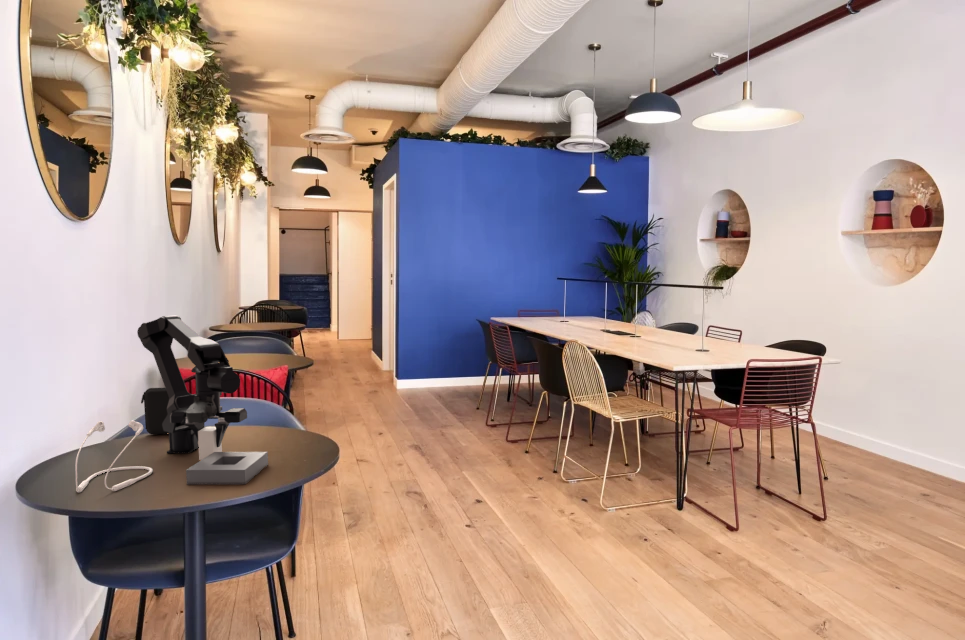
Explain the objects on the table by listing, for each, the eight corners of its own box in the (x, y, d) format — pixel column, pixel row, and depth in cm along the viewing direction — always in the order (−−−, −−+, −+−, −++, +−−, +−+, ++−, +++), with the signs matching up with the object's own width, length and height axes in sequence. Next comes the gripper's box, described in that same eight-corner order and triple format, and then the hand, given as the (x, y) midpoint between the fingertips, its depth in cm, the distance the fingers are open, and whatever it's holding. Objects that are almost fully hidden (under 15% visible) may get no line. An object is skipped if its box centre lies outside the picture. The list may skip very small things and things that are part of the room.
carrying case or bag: (140, 436, 195) (138, 389, 194) (145, 433, 198) (142, 387, 197) (177, 435, 196) (174, 388, 195) (180, 432, 199) (178, 386, 198)
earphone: (54, 481, 141) (86, 416, 154) (85, 518, 153) (112, 455, 166) (118, 480, 142) (144, 415, 155) (143, 517, 154) (165, 453, 166)
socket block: (186, 484, 150) (186, 469, 150) (214, 465, 165) (214, 451, 165) (245, 484, 150) (244, 469, 150) (268, 465, 165) (267, 451, 165)
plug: (199, 460, 169) (197, 431, 169) (210, 453, 176) (208, 425, 175) (214, 460, 169) (212, 431, 169) (224, 453, 176) (223, 425, 175)
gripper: (157, 395, 163) (160, 455, 164) (229, 395, 162) (232, 455, 163) (179, 387, 174) (181, 443, 175) (246, 387, 173) (249, 443, 174)
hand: (210, 446), depth 172 cm, fingers closed on plug, 4 cm apart
